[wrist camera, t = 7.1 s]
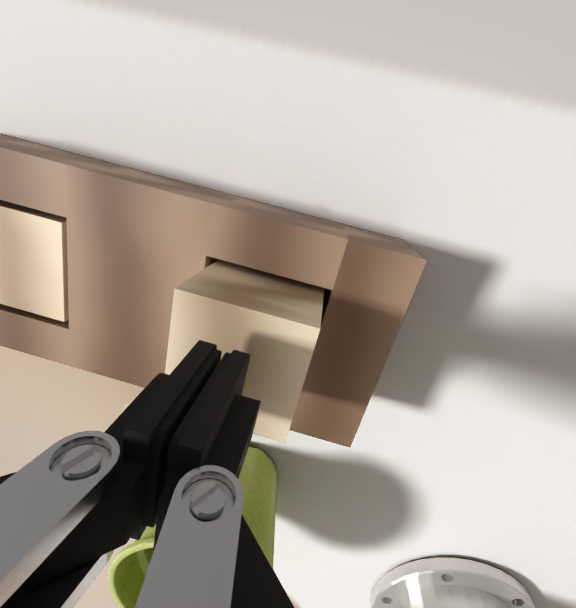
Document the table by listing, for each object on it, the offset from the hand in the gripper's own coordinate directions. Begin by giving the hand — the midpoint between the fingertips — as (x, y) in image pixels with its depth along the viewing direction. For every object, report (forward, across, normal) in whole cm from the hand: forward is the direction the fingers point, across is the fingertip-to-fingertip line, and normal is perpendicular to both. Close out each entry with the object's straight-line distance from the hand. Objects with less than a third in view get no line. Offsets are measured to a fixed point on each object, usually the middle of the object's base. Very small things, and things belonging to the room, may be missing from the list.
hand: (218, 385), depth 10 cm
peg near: (+6, 0, 0) cm, 6 cm away
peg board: (+10, +6, 0) cm, 11 cm away
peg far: (+10, +12, 0) cm, 15 cm away
